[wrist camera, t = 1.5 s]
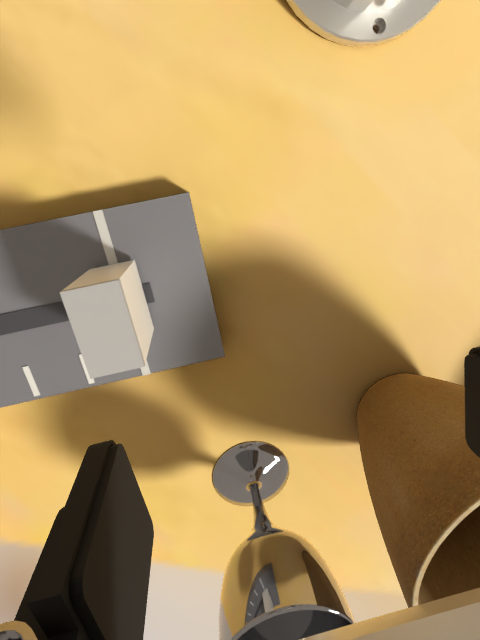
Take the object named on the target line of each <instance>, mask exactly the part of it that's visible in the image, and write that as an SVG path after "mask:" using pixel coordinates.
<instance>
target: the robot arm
mask: <svg viewBox="0 0 480 640" xmlns="http://www.w3.org/2000/svg"><path fill="white" fill-rule="evenodd" d="M286 1H287V3H288V4H289V5H290V7H291V8H292V10H293V11H294V13H295V14H296V15H297V16H298V17H299V18H300V19H301V20H302V21H303V22H304V23H305V24H306V25H307V26H308V27H309V28H310V29H311V30H313V31H314V32H316V33H318V34H319V35H321V36H322V37H324V38H325V39H327V40H330V41H333V42H336V43H339V44H342V45H346V46H356V47H365V46H373V45H379V44H382V43H385V42H388V41H390V40H393V39H395V38H397V37H399V36H400V35H402V34H404V33H405V32H407V31H408V30H410V29H412V28H413V27H414V26H415V25H416V24H418V23H419V22H420V21H421V20H423V19H424V18H425V17H426V16H427V15H428V14H429V13H430V12H431V11H432V10H433V9H434V8H435V6H436V5H437V4H438V3H439V2H440V1H441V0H286ZM373 28H375V29H376V33H375V32H374V31H373ZM464 368H465V438H466V442H467V444H468V446H469V448H470V449H471V450H472V451H473V452H474V453H475V454H476V455H477V456H478V457H479V458H480V347H476V348H472V349H471V350H470V352H469V355H467V356H466V357H465V361H464ZM153 537H154V530H153V524H152V520H151V517H150V515H149V512H148V509H147V507H146V504H145V502H144V499H143V496H142V494H141V491H140V488H139V486H138V483H137V481H136V478H135V475H134V473H133V470H132V468H131V465H130V462H129V460H128V457H127V454H126V452H125V449H124V447H123V445H122V444H117V445H116V444H115V442H114V441H113V440H109V441H106V442H102V443H98V444H94V445H90V446H89V447H88V449H87V451H86V454H85V456H84V459H83V461H82V464H81V467H80V469H79V472H78V474H77V477H76V479H75V482H74V484H73V487H72V489H71V492H70V495H69V497H68V500H67V502H66V505H65V507H63V508H62V509H61V510H60V511H59V512H58V514H57V516H56V519H55V521H54V523H53V526H52V528H51V531H50V533H49V536H48V538H47V541H46V543H45V546H44V548H43V551H42V553H41V555H40V558H39V560H38V563H37V565H36V568H35V570H34V573H33V575H32V578H31V580H30V583H29V585H28V587H27V590H26V592H25V595H24V598H23V600H22V602H21V605H20V607H19V610H18V612H17V615H16V617H15V619H14V621H11V622H5V623H2V624H0V640H143V634H144V624H145V615H146V604H147V595H148V585H149V576H150V566H151V556H152V547H153ZM299 640H480V588H477V589H473V590H470V591H466V592H463V593H459V594H456V595H452V596H449V597H445V598H441V599H438V600H434V601H431V602H427V603H424V604H420V605H417V606H413V607H410V608H407V609H403V610H400V611H396V612H393V613H389V614H386V615H383V616H379V617H375V618H372V619H368V620H365V621H361V622H358V623H354V624H351V625H347V626H344V627H341V628H337V629H334V630H330V631H327V632H323V633H320V634H317V635H313V636H310V637H306V638H303V639H299Z"/></svg>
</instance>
